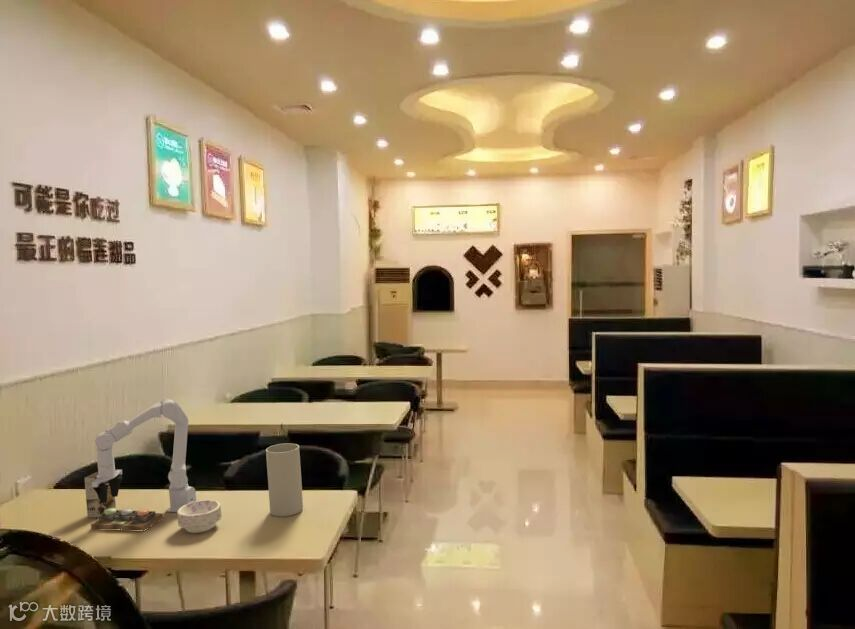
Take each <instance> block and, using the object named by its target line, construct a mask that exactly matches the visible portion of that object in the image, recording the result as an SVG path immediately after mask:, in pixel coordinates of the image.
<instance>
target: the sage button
mask: <svg viewBox="0 0 855 629" xmlns="http://www.w3.org/2000/svg"><path fill="white" fill-rule="evenodd" d="M116 510H117V508H109V509H106V510H105V511H104V512H105V516H112V515H114V514H116Z"/></svg>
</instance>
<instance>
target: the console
mask: <svg viewBox="0 0 855 629" xmlns="http://www.w3.org/2000/svg"><path fill="white" fill-rule="evenodd" d="M122 510H123V509H122ZM122 510H121V509H119V510H118V509H116V514H114V515H112V516H105V512H104V513H102V514H101V515H99V516H98V518H97V519H98V520H95V521H94V522H92V523H90V530H95V529H120V530H121V529H122V530H143V531H142V532H145V531H146V530H145V529H147V528H148V529H150V528H151V527H152V526H151V525H153V524H154V525H155V523H156V522H157V523H159V522H160V521H161V519H162V518H163V519H164V514H163V513H157V512H156V510H149V515H147V516H146V517H138V514H137V512H138V511H139V510H132V511H133V514H131V515H130V516H121V511H122ZM163 519H162V520H163ZM159 520H160V521H159ZM158 521H159V522H158ZM157 523H156V524H157ZM154 525H153V526H154ZM150 526H151V527H150ZM149 527H150V528H149ZM148 529H147V530H148ZM144 530H145V531H144Z"/></svg>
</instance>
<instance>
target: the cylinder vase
mask: <svg viewBox="0 0 855 629" xmlns="http://www.w3.org/2000/svg"><path fill="white" fill-rule="evenodd" d="M265 456H266V470H267V473H266V474H267V484H268V485H267V486H268V500H269V512H270V514H271V515H272V516H274V517H279V518H280V517H281V518H282V517H283V518H285V517H291V516H295V515H297V514H300V513H301V512H302V511H303V509H304V503H303V500H304V499H303V486H302V470H301V455H300V445H299V444H297V443H288V442H287V443H277V444H273V445H270V446H269V447H267V448H266V449H265Z"/></svg>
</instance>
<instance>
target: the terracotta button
mask: <svg viewBox="0 0 855 629" xmlns="http://www.w3.org/2000/svg"><path fill="white" fill-rule="evenodd" d="M137 511H138V512H137V514H138V517H146V516H147V515H149V511H150V509H149V508H144V509H139V510H137Z"/></svg>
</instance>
